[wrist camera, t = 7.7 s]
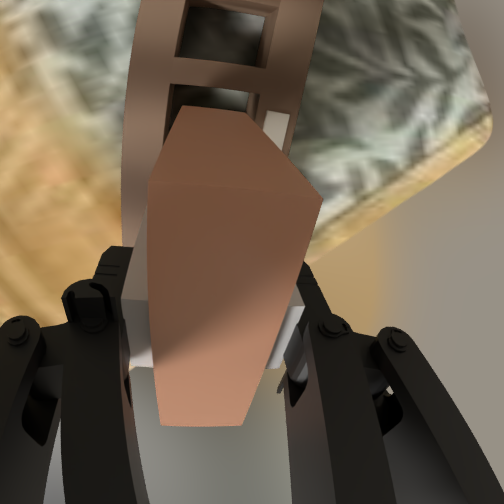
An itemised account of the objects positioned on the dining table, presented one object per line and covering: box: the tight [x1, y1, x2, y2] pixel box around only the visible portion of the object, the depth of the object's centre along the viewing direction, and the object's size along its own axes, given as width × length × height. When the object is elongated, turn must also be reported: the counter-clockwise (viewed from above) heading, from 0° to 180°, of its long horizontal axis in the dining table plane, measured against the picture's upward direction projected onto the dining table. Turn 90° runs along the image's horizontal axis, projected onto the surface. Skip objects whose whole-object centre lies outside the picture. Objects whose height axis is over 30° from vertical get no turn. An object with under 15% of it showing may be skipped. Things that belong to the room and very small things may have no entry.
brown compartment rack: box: [121, 0, 324, 247], centre depth 14 cm, size 25×9×4 cm, turn 169°
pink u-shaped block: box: [147, 105, 323, 426], centre depth 11 cm, size 9×3×10 cm, turn 169°
